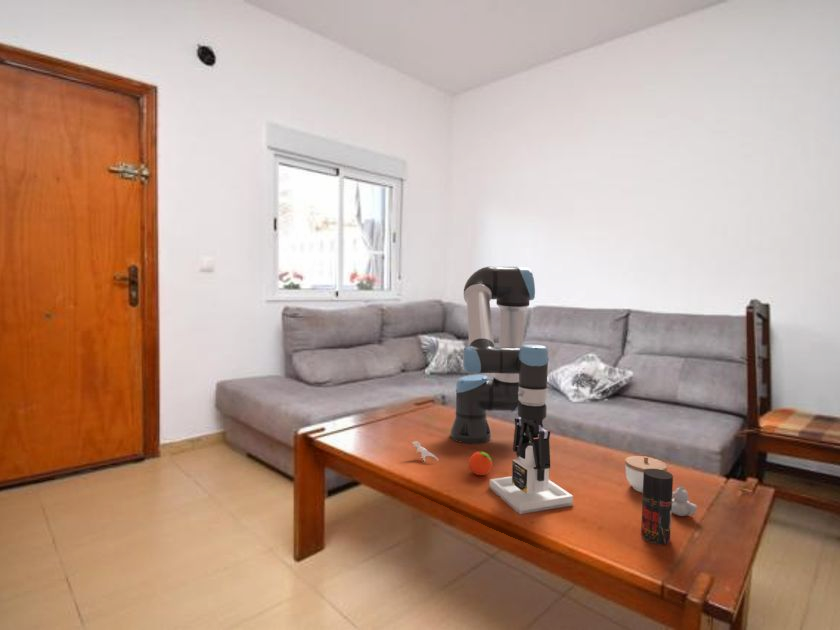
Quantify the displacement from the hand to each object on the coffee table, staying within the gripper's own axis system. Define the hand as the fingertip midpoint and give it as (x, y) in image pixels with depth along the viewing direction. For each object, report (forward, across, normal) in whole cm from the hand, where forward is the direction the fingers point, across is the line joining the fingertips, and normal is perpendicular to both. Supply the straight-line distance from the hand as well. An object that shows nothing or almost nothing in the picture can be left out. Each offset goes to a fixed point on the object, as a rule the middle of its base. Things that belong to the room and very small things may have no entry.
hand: (529, 485), depth 126 cm
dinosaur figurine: (+4, -34, -19) cm, 39 cm away
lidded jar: (+3, +6, +34) cm, 35 cm away
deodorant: (+3, +27, +16) cm, 32 cm away
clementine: (+3, -17, -6) cm, 18 cm away
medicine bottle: (+1, 0, 0) cm, 1 cm away
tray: (+3, 0, 0) cm, 3 cm away
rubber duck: (+3, +21, +31) cm, 38 cm away
